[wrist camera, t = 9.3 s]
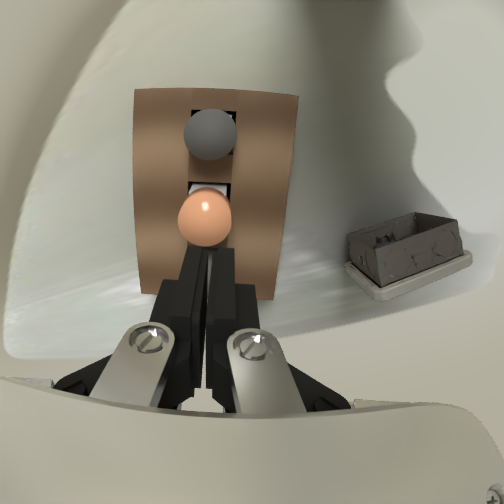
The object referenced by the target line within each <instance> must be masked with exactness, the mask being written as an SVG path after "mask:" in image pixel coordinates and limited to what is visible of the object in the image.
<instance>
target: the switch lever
mask: <svg viewBox="0 0 504 504" xmlns="http://www.w3.org/2000/svg"><path fill="white" fill-rule="evenodd" d="M236 140H237V129H236V125H235V122H234V120H233V119H232V114H227V113H226V112H224V111H222V110H219V109H204V110H201V111H199V112H197V113H195V114H194V115H193V116H192V117H191V118H190V119H189V120H188V122H187V123H186V126H185V129H184V142H185V145H186V147H187V148H188V150H189V151H190V152H191V153H192V154H193V155H194V156H196V157H197V158H200V159H203V160H217V159H220V158H222V157H224V156H226V155H227V154H228V153H229V152H230V151H231V150H232V149H233V147H234V145H235V143H236Z"/></svg>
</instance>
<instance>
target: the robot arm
mask: <svg viewBox="0 0 504 504" xmlns="http://www.w3.org/2000/svg"><path fill="white" fill-rule="evenodd" d="M208 254H209V251H208V250H203V246H193V245H188V246H187V249H186V253H185V256H184V260H183V264H182V267H181V271H180V275H179V278H178V280H173V279H163V281H162V283H161V286H160V289H159V292H158V295H157V298H156V301H155V304H154V307H153V310H152V314H151V317H150V320H149V322H143V323H139V324H136V325H134V326H133V327H131V328H129V329H128V331H127V332H126V333H125V334H124V336H123V338H122V339H121V341H120V343H119V344H118V346H117V348H116V349H115V351H114V353H113V354H111V355H109V356H107V357H105V358H103V359H101V360H99V361H97V362H95V363H93V364H91V365H88V366H86V367H84V368H82V369H80V370H78V371H76V372H74V373H71V374H70V375H67V376H65V377H63V378H62V379H60V380H59V381H58V382H57V383H54V382H53V380H52V379H31V378H15V377H6V376H2V375H0V504H504V459H503V457H502V455H501V453H500V451H499V449H498V447H497V446H496V444H495V442H494V440H493V438H492V437H491V435H490V434H489V432H488V431H487V429H486V428H485V426H484V425H483V424H482V422H481V421H480V420H479V419H478V418H477V417H476V416H475V415H474V414H473V413H472V412H470V411H468V410H466V409H464V408H461V407H458V406H454V405H448V404H441V403H427V402H418V403H410V402H389V401H374V400H360V399H355V400H354V402H348V401H347V400H346V399H345V398H344V397H342V396H341V395H340V394H338V393H336V392H335V391H333V390H331V389H329V388H328V387H326V386H324V385H323V384H321V383H320V382H318V381H316V380H315V379H313V378H311V377H310V376H308V375H306V374H305V373H303V372H302V371H300V370H298V369H297V368H295V367H294V366H292V365H290V364H289V363H287V361H286V359H285V356H284V354H283V351H282V349H281V346H280V344H279V342H278V340H277V339H276V338H275V337H274V336H273V335H272V334H270V333H268V332H266V331H264V330H260V324H259V316H258V307H257V299H256V290H255V285H254V284H239V283H235V249H234V248H226V247H219V251H213V257H212V266H211V275H210V284H209V294H208V304H207V286H208ZM205 331H206V388H207V389H212V398H213V399H215V400H216V401H217V402H218V403H219V404H221V405H222V406H223V413H213V412H195V411H184V410H181V405H182V404H181V403H182V402H183V401H185V400H186V399H188V398H189V397H194V389H195V388H201V380H202V365H203V354H204V342H205Z"/></svg>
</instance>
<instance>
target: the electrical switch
mask: <svg viewBox="0 0 504 504" xmlns="http://www.w3.org/2000/svg"><path fill="white" fill-rule="evenodd" d="M415 217H416V219H415ZM408 224H409V225H408ZM392 231H393V234H392ZM371 232H372V233H373V234H372V233H371ZM386 235H388V236H389V239H390V241H391V242H388V241H387V242H384V243H382V238H383V237H384V236H386ZM393 235H394V238H395V240H397V241H395V240H394V238H393ZM346 237H347V241H348V244H349V253H350V256H351V261H348V262H346V263H345V264H344V266H345V269H346V272H347V274H348V275H349V276H350V277H351V278H352V279H353V280H354V281H355V282H356V283H358V284H359V285H360V286H361V287H362V288H363V289H364V290H365V291H366V292H367V293H368V294H369V295H370V296H371V297H372V298H373V299H374V300H375V301H386V300H389V299H391V298H394V297H397V296H399V295H402V294H404V293H407V292H409V291H412V290H414V289H417V288H419V287H422V286H424V285H427V284H429V283H431V282H434V281H436V280H439V279H441V278H443V277H446V276H448V275H450V274H452V273H455V272H457V271H459V270H461V269H464V268H466V267H468V266H470V265H471V264H472V253H471V252H469V251H468V250H463V248H462V240H461V237H460V235H459V228H458V222H457V220H455V219H450V218H445V217H439V216H434V215H428V214H423V213H417V212H415V215H414V213H411V214H408V215H405V216H402V217H399V218H396V219H393V220H390V221H387V222H384V223H381V224H378V225H375V226H372V227H368V228H365V229H362V230H359V231H356V232H353V233H350V234H347V235H346ZM376 237H377V239H378V245H377V239H376Z"/></svg>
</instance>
